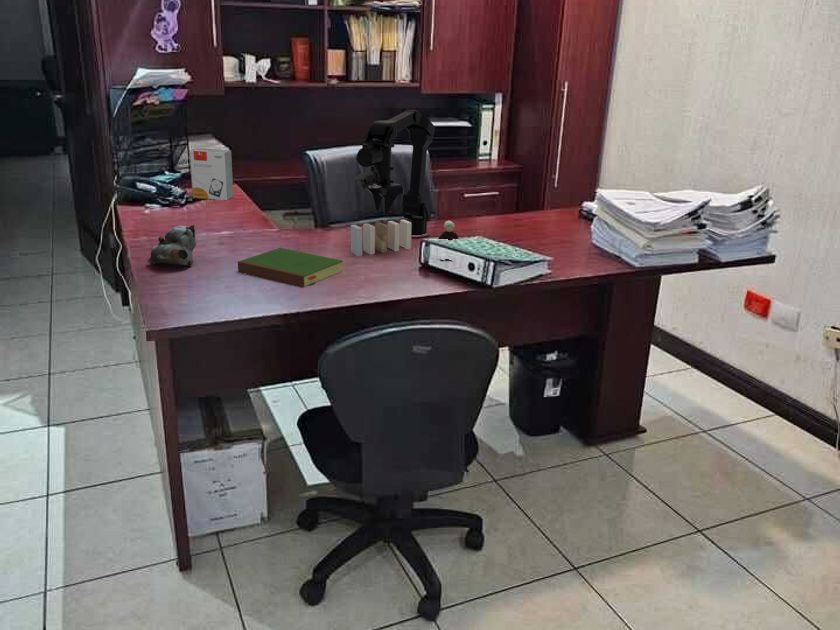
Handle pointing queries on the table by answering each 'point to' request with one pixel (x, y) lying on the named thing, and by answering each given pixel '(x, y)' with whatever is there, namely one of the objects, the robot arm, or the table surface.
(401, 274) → the table surface
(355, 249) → the domino
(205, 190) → the hard drive box
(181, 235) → the grey lumpy figure
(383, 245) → the domino
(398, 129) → the robot arm
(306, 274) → the hardcover book
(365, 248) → the domino
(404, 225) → the domino
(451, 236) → the grandmother figurine
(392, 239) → the domino
